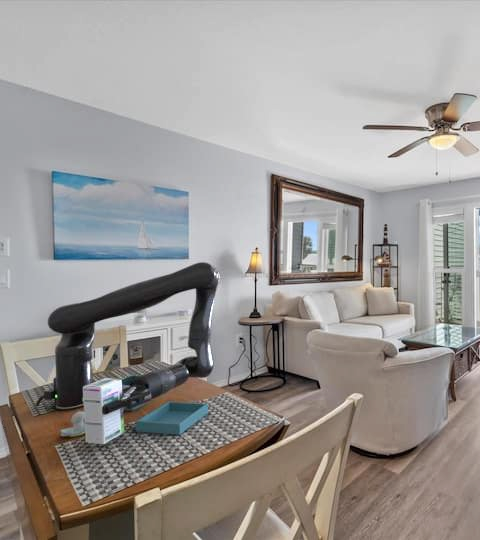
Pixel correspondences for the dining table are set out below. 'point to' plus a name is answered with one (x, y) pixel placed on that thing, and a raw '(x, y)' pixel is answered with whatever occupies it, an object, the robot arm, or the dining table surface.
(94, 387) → the syrup box
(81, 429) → the pacifier
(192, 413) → the tray
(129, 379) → the flower pot
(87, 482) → the dining table surface
